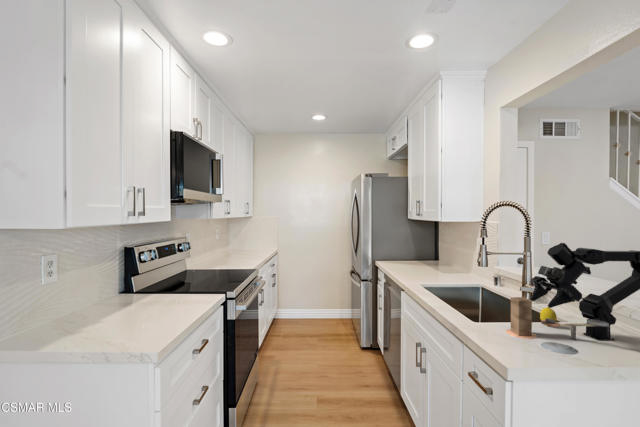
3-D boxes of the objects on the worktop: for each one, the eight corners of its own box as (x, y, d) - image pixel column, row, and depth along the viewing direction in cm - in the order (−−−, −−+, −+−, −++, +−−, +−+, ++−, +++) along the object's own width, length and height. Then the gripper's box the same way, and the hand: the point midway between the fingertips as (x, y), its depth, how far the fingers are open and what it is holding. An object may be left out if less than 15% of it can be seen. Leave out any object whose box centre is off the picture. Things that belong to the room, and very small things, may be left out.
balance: (607, 346, 109) (607, 321, 110) (610, 352, 105) (610, 326, 105) (541, 334, 121) (541, 311, 121) (540, 339, 116) (540, 315, 116)
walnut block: (523, 331, 121) (523, 297, 121) (531, 336, 116) (531, 300, 116) (510, 331, 121) (510, 297, 121) (518, 336, 116) (518, 300, 116)
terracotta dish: (525, 332, 123) (525, 328, 123) (544, 342, 113) (544, 338, 113) (500, 332, 123) (500, 329, 123) (516, 342, 113) (516, 338, 113)
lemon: (559, 329, 126) (559, 309, 127) (544, 328, 128) (543, 308, 128) (552, 324, 132) (552, 305, 132) (537, 323, 133) (537, 304, 133)
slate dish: (561, 345, 110) (561, 341, 110) (586, 357, 100) (586, 354, 100) (533, 345, 110) (533, 342, 110) (556, 358, 100) (556, 354, 100)
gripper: (536, 255, 128) (509, 283, 128) (573, 262, 109) (541, 294, 109) (556, 275, 128) (529, 302, 128) (596, 285, 109) (564, 317, 109)
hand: (539, 303), depth 118 cm, fingers open, 9 cm apart
